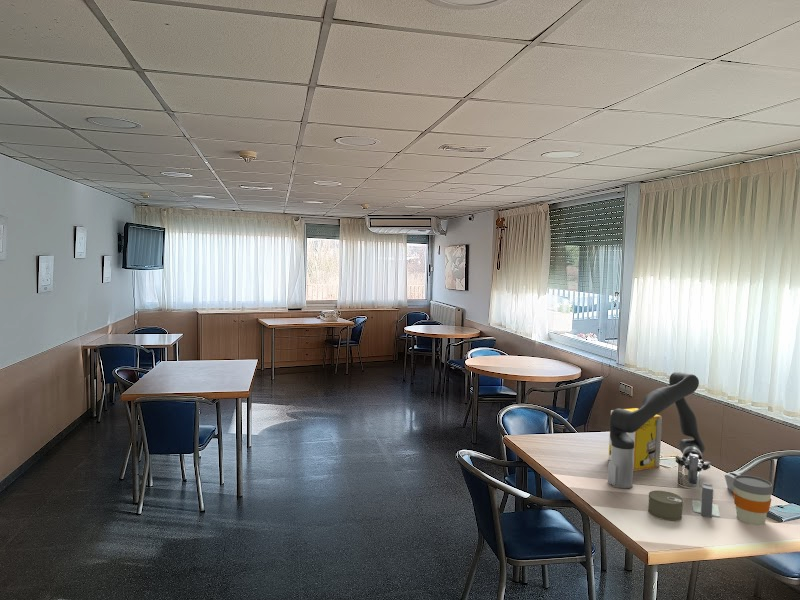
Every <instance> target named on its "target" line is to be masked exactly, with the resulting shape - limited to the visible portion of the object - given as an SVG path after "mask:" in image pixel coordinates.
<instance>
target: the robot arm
mask: <svg viewBox="0 0 800 600" xmlns="http://www.w3.org/2000/svg"><path fill="white" fill-rule="evenodd" d="M668 380H669V381H668V382H669V383H668V384H669V385H668V386H663V387H658V388H656V389H654V390H652V391H650V392H649V393H647V394H646V395H644V397H643V398H642V400H641V407H639V408H638V410H636V411H633V412H631V411H628V410H624V409H625V408H620V407H619V408H615V409H612V410H613V412H612V414H611V413H610V417H609V440H610V439H611V460H609V461H608V466H607V468H608V469H607V483H608V484H610V485H611V484H612V485H613V486H612V485H611V486H612V487H614V488H618V489H631V488H632V487H633V482H634V481H633V480H634V479H633V478H634V476H633V475H634V471H633V460H634V441H633V440H632V439H631V438H630V437H629V436H628V435H627V433H633V432H635V431H637V430H638V429H639V428H640V427H641V426H643V425H644V424H645V423H646V422H647V421H648V420H650V419H651V418H652V417H654V416H655V415H656V414H657V415H659V414H660V413H662V412H663V411H664V410H666V409H667V408H669V407H670V406H672V405H673V404H675V407H676V410H677V413H678V418H679V424H680V425H679V426H680V432H681V434H682V435H683V436H686V437H691V438H684V439H681V440H680V441H679V442H678V447H679V450H680V452H681V454H682V457H681V456H678V455H676V456H675V463H676V464H678V465H679V467H683V466H684V469H686V470H687V471H688V470H689V453H690V454H696V455H698V457H699V460H698V473H700V472H702V470H703V471H707V470H709V469H710V468H711V461H704V460H703V453H704V452H705V451H706V449H705V444H704V442H703V440H702V438H701V436H700V433H699V430H698V423H697V417H696V415H695V413H694V411H693V410H692V408H691V407H690V405H689V404H688V402H687V400H686V398H685V397H688V396H689V395H691V394H693V393H695V392H696V391H697V390H698V388H699V385H700V381H699V378H698V377H697V376H696V375H695V374H692V373H689V372H680V371H675V372H672V373H671V374H670V376H669V379H668ZM626 432H627V433H626Z"/></svg>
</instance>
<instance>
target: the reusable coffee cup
mask: <svg viewBox="0 0 800 600" xmlns="http://www.w3.org/2000/svg"><path fill="white" fill-rule="evenodd" d="M733 485H734V492H733V491H732V492H733V502H734V505H735V511H736V518H737V519H738V520H739V521H741V522H744V523H746V524H749V525H752V526H753V525H754V526H764V525H765V524H766V519H767V514H768V513H769V512H770V508H771V503H772V498H771V497H772V494H773V493H774V492H773V490H774V489H773V484H772V483H771V482H770V481H769V480H766V479H764V478H761V477H758V476H753V475H746V474H740V475H737V476H735V477H734V482H733Z"/></svg>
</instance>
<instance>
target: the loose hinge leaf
mask: <svg viewBox="0 0 800 600" xmlns="http://www.w3.org/2000/svg"><path fill="white" fill-rule="evenodd" d="M698 460H699V457H698V455H696V454H690V453H689V470H687V483H688V484H691V485H698V474H699V472H698Z"/></svg>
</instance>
